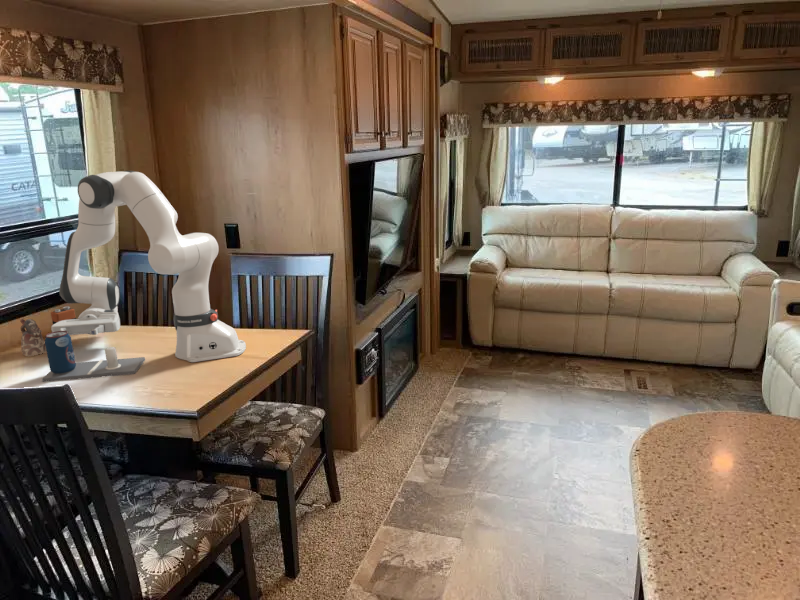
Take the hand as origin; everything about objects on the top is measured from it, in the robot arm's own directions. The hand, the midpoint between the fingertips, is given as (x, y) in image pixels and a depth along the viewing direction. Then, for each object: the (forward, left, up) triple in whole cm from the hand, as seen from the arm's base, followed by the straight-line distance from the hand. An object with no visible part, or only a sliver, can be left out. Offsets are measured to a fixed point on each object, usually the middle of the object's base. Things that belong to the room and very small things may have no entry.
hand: (78, 333), depth 189 cm
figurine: (+20, -12, -9) cm, 25 cm away
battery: (+17, -32, -9) cm, 37 cm away
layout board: (-7, +11, -9) cm, 16 cm away
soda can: (+1, +12, -8) cm, 15 cm away
